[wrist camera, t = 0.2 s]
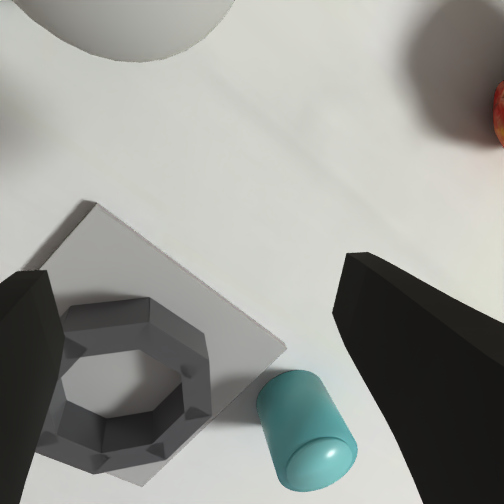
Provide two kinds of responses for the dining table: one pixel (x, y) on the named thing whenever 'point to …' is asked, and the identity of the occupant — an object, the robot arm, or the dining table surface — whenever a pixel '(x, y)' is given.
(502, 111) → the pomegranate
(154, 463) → the octagonal ring on plate
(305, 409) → the cap
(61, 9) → the lightbulb
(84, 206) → the dining table surface
